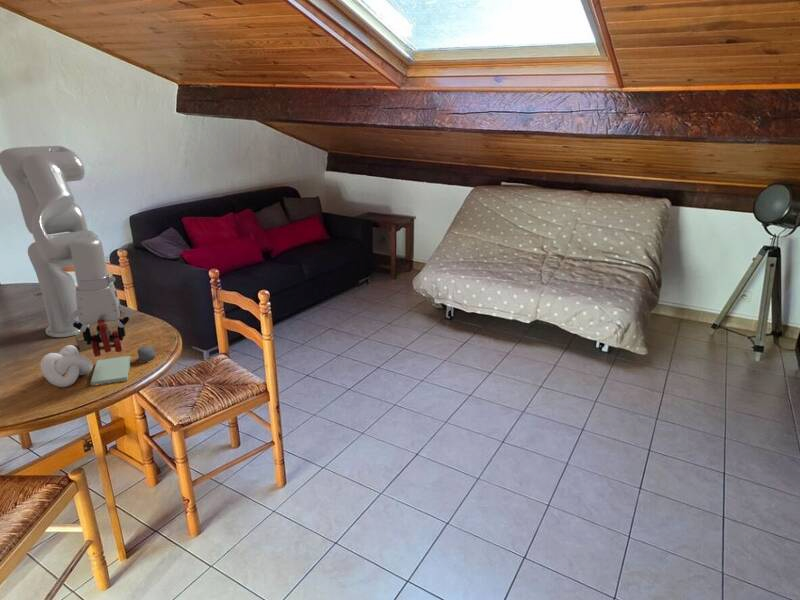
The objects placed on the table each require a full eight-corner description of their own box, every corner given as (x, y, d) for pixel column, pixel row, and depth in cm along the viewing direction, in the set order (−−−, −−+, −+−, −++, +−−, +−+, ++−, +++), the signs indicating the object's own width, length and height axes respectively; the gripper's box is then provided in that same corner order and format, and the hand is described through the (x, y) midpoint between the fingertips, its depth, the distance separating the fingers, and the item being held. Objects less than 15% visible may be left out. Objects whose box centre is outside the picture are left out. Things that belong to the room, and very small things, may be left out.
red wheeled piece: (119, 338, 153) (113, 306, 149) (123, 355, 143) (116, 322, 139) (92, 343, 150) (85, 310, 146) (95, 361, 140) (87, 327, 136)
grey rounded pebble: (140, 357, 158) (138, 347, 157) (155, 355, 159) (154, 345, 158) (138, 364, 154) (136, 353, 153) (154, 362, 156) (152, 351, 154)
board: (98, 363, 153) (97, 360, 153) (131, 359, 157) (130, 355, 156) (91, 385, 142) (90, 382, 142) (127, 380, 145) (126, 377, 145)
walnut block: (77, 345, 164) (75, 334, 162) (95, 341, 167) (92, 330, 165) (80, 351, 160) (78, 340, 159) (98, 347, 163) (96, 336, 162)
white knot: (39, 377, 145) (31, 350, 142) (86, 364, 153) (80, 337, 150) (49, 394, 138) (41, 365, 135) (98, 379, 146) (92, 351, 142)
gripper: (130, 275, 145) (140, 331, 152) (59, 281, 139) (73, 339, 146) (128, 284, 138) (138, 342, 145) (53, 290, 132) (68, 351, 139)
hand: (105, 340), depth 145 cm, fingers closed on red wheeled piece, 7 cm apart
